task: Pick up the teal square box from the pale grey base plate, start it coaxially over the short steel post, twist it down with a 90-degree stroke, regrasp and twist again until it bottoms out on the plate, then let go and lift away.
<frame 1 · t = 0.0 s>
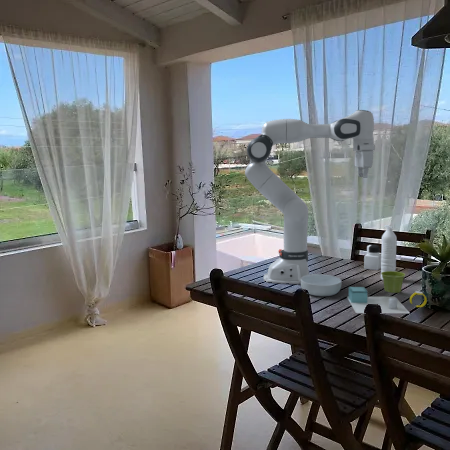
hand: (362, 177, 200), 48 cm above the table, tool pointing down, fingers open, 8 cm apart
water bottle: (387, 279, 206), on the table
plant pot: (392, 294, 183), on the table
post base: (392, 311, 162), on the table
medicine bottle: (372, 268, 226), on the table
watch: (417, 307, 167), on the table
teal square box: (357, 300, 172), point 1 cm above the table, touching post base
cereal bowl: (320, 295, 184), on the table
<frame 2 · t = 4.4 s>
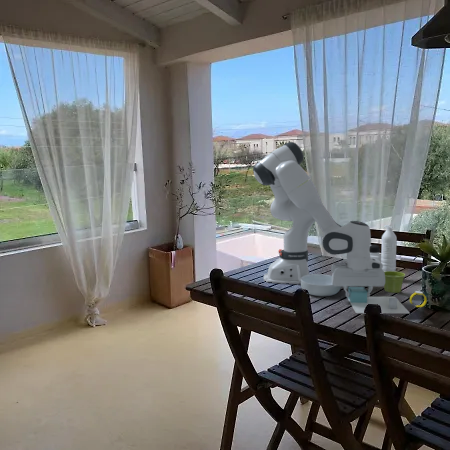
hand: (357, 296, 172), 3 cm above the table, tool pointing down, fingers closed on teal square box, 6 cm apart
teal square box: (357, 300, 172), point 1 cm above the table, touching gripper, post base
everything else where it was.
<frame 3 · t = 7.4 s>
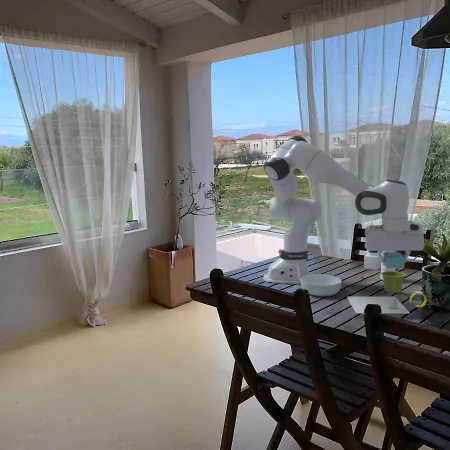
hand: (393, 262, 159), 19 cm above the table, tool pointing down, fingers closed on teal square box, 6 cm apart
teal square box: (393, 266, 159), point 18 cm above the table, touching gripper
everything else where it was.
when the fingers open (3 cm above the table, at t = 10.4 s): teal square box stays where it is, resting on post base.
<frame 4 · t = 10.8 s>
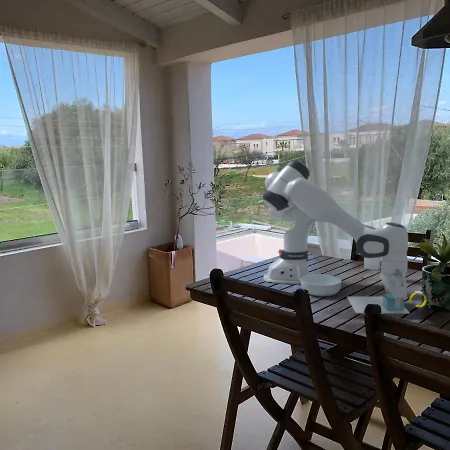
hand: (393, 302, 162), 4 cm above the table, tool pointing down, fingers open, 8 cm apart
teal square box: (392, 308, 162), point 1 cm above the table, touching post base
everything else where it was.
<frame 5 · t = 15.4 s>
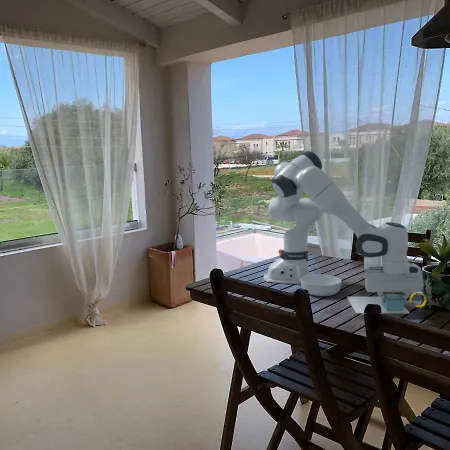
hand: (393, 302, 162), 4 cm above the table, tool pointing down, fingers closed on teal square box, 6 cm apart
teal square box: (392, 308, 162), point 1 cm above the table, touching gripper, post base
everything else where it was.
when the fingers open (3 cm above the table, at t = 16.7 s): teal square box stays where it is, resting on post base.
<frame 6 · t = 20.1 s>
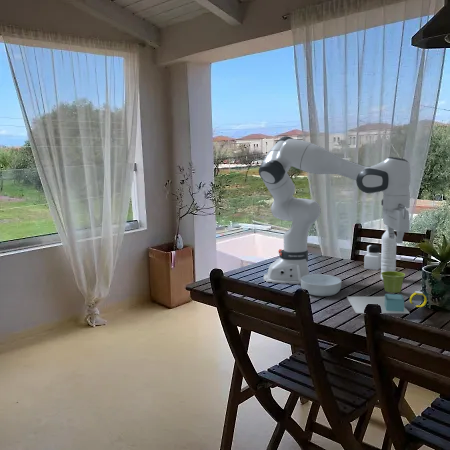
hand: (395, 240, 158), 27 cm above the table, tool pointing down, fingers open, 8 cm apart
teal square box: (393, 308, 162), point 1 cm above the table, touching post base
everything else where it was.
at the end: teal square box 0.4 cm from the post base (horizontally); teal square box point 1.5 cm above the table; the gripper is holding nothing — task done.
